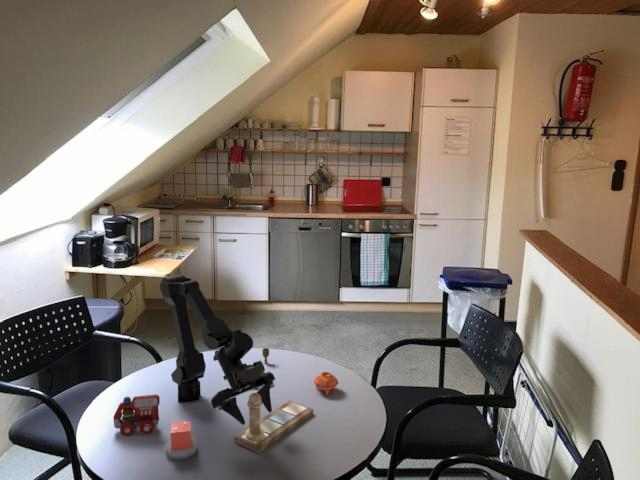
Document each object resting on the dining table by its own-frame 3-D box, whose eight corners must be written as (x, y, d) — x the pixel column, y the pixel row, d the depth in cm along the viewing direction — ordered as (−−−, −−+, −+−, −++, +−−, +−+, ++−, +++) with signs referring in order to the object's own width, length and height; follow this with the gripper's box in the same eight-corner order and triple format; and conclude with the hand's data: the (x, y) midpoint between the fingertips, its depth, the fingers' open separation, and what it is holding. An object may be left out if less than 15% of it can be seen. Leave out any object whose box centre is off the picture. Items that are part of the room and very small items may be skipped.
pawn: (246, 441, 146) (246, 398, 144) (244, 431, 151) (244, 390, 148) (265, 439, 147) (265, 397, 145) (262, 429, 152) (262, 388, 149)
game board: (259, 453, 144) (259, 447, 144) (233, 441, 149) (233, 436, 149) (313, 413, 164) (313, 408, 164) (289, 404, 169) (289, 399, 169)
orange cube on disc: (165, 461, 140) (164, 435, 138) (166, 443, 147) (165, 418, 146) (197, 457, 142) (196, 431, 140) (196, 440, 149) (195, 415, 148)
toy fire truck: (117, 424, 156) (115, 391, 154) (161, 421, 158) (160, 388, 156) (112, 438, 149) (110, 403, 147) (159, 434, 152) (158, 400, 150)
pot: (310, 394, 176) (311, 373, 176) (317, 389, 183) (318, 369, 183) (334, 397, 173) (335, 376, 174) (340, 392, 181) (341, 371, 181)
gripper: (216, 364, 141) (243, 419, 135) (271, 344, 154) (297, 394, 149) (200, 382, 148) (224, 435, 142) (253, 362, 161) (278, 410, 156)
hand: (257, 417), depth 147 cm, fingers open, 9 cm apart
